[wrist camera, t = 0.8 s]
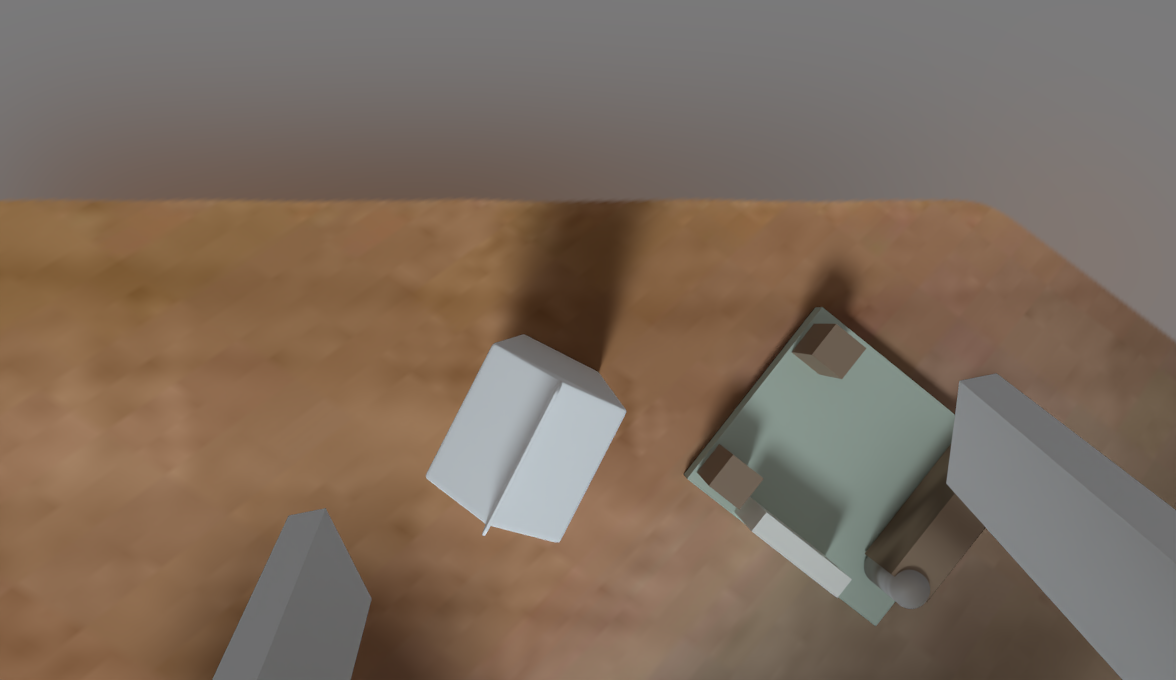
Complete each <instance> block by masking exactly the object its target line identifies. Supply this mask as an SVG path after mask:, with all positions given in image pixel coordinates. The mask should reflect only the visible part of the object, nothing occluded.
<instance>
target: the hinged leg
mask: <svg viewBox="0 0 1176 680" xmlns="http://www.w3.org/2000/svg"><path fill="white" fill-rule="evenodd" d="M950 450H951V444H950V446H949V447H948V448H947V449H946V451H945V452H944V453H943V454H942V456H941V457H940V458H939V460H938V461H937V462H936V463H935V465H934V466H933V467H932V468H931V470H930V471H929V472H928V474H927V475H926V476H925V477H924V479H923V480H922V481H921V482H920V484H919V485H918V486H917V488H916V489H915V490H914V491H913V493H912V494H911V495H910V496H909V498H908V499H907V500H906V502H905V503H904V504H903V505H902V507H901V508H900V509H899V510H898V512H897V513H896V514H895V516H894V517H893V518H892V519H891V521H890V522H889V523H888V524H887V526H886V527H885V528H884V530H883V531H882V532H881V533H880V535H879V536H878V537H877V538H876V540H875V541H874V542H873V544H872V545H871V546H870V547H869V549H868V550H867V551H866V552H865V554H866V555H867V556H868V557H867V558H866V560H865V563H864V571H865V574H866V576H867V577H868V579H869V580H871V581H872V582H873V583H874V584H875V585H877V586H878V587H879V588H880V589H881V590H883V591H884V592H885V593H886V594H887V595H888V596H890V597H891V598H892V599H893V600H894V601H896V602H897V603H898V604H899V605H901V606H902V607H904V608H907V609H915V608H918V607H920V606H922V605H923V604H924V603H925V602H927V601H928V600H929V599H930V598H931V596H932V595H933V594H934V592H935V591H936V590H937V589H938V587H939V586H940V585H941V584H942V582H943V581H944V580H945V578H946V577H947V576H948V575H949V573H950V572H951V571H952V570H953V568H954V567H955V566H956V564H957V563H958V562H959V561H960V559H961V558H962V557H963V556H964V554H965V553H966V552H967V550H968V549H969V548H970V547H971V545H972V544H973V543H974V542H975V540H976V539H977V538H978V536H979V535H980V534H981V533H982V531H983V530H984V529H985V528H986V527H985V526H984V525H983V524H982V523H981V522H980V521H979V519H978V518H977V517H976V516H975V515H974V514H973V513H972V512H971V511H970V509H969V508H968V507H967V506H966V505H965V504H964V503H963V502H962V501H961V499H960V498H959V497H958V496H957V495H956V494H955V493H954V492H953V490H952V489H951V488H950V487H949V486H948V485H947V484H946V481H947V473H948V465H949V458H950Z"/></svg>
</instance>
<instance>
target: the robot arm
mask: <svg viewBox="0 0 1176 680" xmlns="http://www.w3.org/2000/svg"><path fill="white" fill-rule="evenodd" d="M946 484H947V485H948V486H949V487H950V488H951V489H952V490H953V492H954V493H955V494H956V495H957V496H958V497H959V498H960V499H961V501H962V502H963V503H964V504H965V505H966V506H967V507H968V508H969V509H970V511H971V512H972V513H973V514H974V515H975V516H976V517H977V518H978V519H979V521H980V522H981V523H982V524H983V525H984V526H985V527H986V528H987V529H988V531H989V532H990V533H991V534H992V535H993V536H994V537H995V538H996V539H997V541H998V542H999V543H1000V544H1001V545H1002V546H1003V547H1004V548H1005V549H1006V551H1007V552H1008V553H1009V554H1010V555H1011V556H1012V557H1013V558H1014V560H1015V561H1016V562H1017V563H1018V564H1019V565H1020V566H1021V567H1022V568H1023V570H1024V571H1025V572H1026V573H1027V574H1028V575H1029V576H1030V577H1031V578H1032V580H1033V581H1034V582H1035V583H1036V584H1037V585H1038V586H1039V587H1040V588H1041V590H1042V591H1043V592H1044V593H1045V594H1046V595H1047V596H1048V597H1049V598H1050V600H1051V601H1052V602H1053V603H1054V604H1055V605H1056V606H1057V607H1058V609H1059V610H1060V611H1061V612H1062V613H1063V614H1064V615H1065V616H1066V617H1067V619H1068V620H1069V621H1070V622H1071V623H1072V624H1073V625H1074V626H1075V627H1076V629H1077V630H1078V631H1079V632H1080V633H1081V634H1082V635H1083V636H1084V637H1085V639H1086V640H1087V641H1088V642H1089V643H1090V644H1091V645H1092V646H1093V647H1094V649H1095V650H1096V651H1097V652H1098V653H1099V654H1100V655H1101V656H1102V658H1103V659H1104V660H1105V661H1106V662H1107V663H1108V664H1109V665H1110V666H1111V668H1112V669H1113V670H1114V671H1115V672H1116V673H1117V674H1118V675H1119V676H1120V678H1121V679H1122V680H1176V510H1175V509H1174V508H1172V507H1171V506H1170V505H1168V504H1167V503H1166V502H1164V501H1163V500H1162V499H1161V498H1159V497H1158V496H1157V495H1155V494H1154V493H1153V492H1151V491H1150V490H1149V489H1147V488H1146V487H1145V486H1143V485H1142V484H1141V483H1140V482H1138V481H1137V480H1136V479H1134V478H1133V477H1132V476H1130V475H1129V474H1128V473H1126V472H1125V471H1124V470H1123V469H1121V468H1120V467H1119V466H1117V465H1116V464H1115V463H1113V462H1112V461H1111V460H1109V459H1108V458H1107V457H1105V456H1104V455H1103V454H1102V453H1100V452H1099V451H1098V450H1096V449H1095V448H1094V447H1092V446H1091V445H1090V444H1088V443H1087V442H1086V441H1084V440H1083V439H1082V438H1081V437H1079V436H1078V435H1077V434H1075V433H1074V432H1073V431H1071V430H1070V429H1069V428H1067V427H1066V426H1065V425H1064V424H1062V423H1061V422H1060V421H1058V420H1057V419H1056V418H1054V417H1053V416H1052V415H1050V414H1049V413H1048V412H1046V411H1045V410H1044V409H1043V408H1041V407H1040V406H1039V405H1037V404H1036V403H1035V402H1033V401H1032V400H1031V399H1029V398H1028V397H1027V396H1025V395H1024V394H1023V393H1022V392H1020V391H1019V390H1018V389H1016V388H1015V387H1014V386H1012V385H1011V384H1010V383H1008V382H1007V381H1006V380H1004V379H1003V378H1002V377H1001V376H999V375H998V374H997V373H996V374H991V375H986V376H981V377H976V378H971V379H966V380H961V381H959V388H958V396H957V404H956V411H955V419H954V427H953V435H952V442H951V450H950V458H949V465H948V473H947V481H946ZM371 599H372V598H371V596H370V594H369V592H368V591H367V589H366V587H365V585H364V583H363V581H362V579H361V577H360V575H359V573H358V571H357V569H356V567H355V565H354V563H353V561H352V559H351V557H350V555H349V553H348V551H347V549H346V547H345V545H344V543H343V541H342V539H341V538H340V536H339V534H338V532H337V530H336V528H335V526H334V524H333V522H332V520H331V518H330V516H329V514H328V512H327V510H326V508H325V509H320V510H315V511H310V512H305V513H300V514H295V515H290V516H288V518H287V520H286V523H285V525H284V527H283V529H282V531H281V533H280V535H279V538H278V540H277V542H276V544H275V546H274V548H273V550H272V553H271V555H270V557H269V559H268V561H267V563H266V565H265V568H264V570H263V572H262V574H261V576H260V578H259V580H258V583H257V585H256V587H255V589H254V591H253V593H252V595H251V598H250V600H249V602H248V604H247V606H246V608H245V610H244V613H243V615H242V617H241V619H240V621H239V623H238V625H237V628H236V630H235V632H234V634H233V636H232V638H231V640H230V643H229V645H228V647H227V649H226V651H225V653H224V655H223V658H222V660H221V662H220V664H219V666H218V668H217V670H216V673H215V675H214V677H213V679H212V680H351V677H352V673H353V669H354V665H355V661H356V657H357V653H358V650H359V646H360V642H361V638H362V634H363V630H364V626H365V623H366V619H367V615H368V611H369V607H370V603H371Z"/></svg>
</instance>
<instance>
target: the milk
mask: <svg viewBox="0 0 1176 680" xmlns="http://www.w3.org/2000/svg"><path fill="white" fill-rule="evenodd" d="M625 414H626V409H625V408H624V407H623V405H622V404H621V402H620V401H619V400H618V398H617V397H616V396H615V394H614V393H613V391H612V390H611V389H610V387H609V386H608V385H607V383H606V382H605V380H604V379H603V378H602V376H601V375H600V373H599V372H597V371H596V370H594V369H592V368H590V367H588V366H586V365H584V364H582V363H580V362H578V361H576V360H574V359H572V358H570V357H568V356H566V355H564V354H562V353H560V352H558V351H556V350H554V349H552V348H550V347H548V346H546V345H545V344H543V343H541V342H539V341H537V340H535V339H533V338H531V337H529V336H527V335H525V334H523V335H519V336H516V337H513V338H510V339H507V340H503V341H500V342H497V343H494V344H493V345H492V347H491V349H490V351H489V352H488V354H487V356H486V358H485V360H484V362H483V364H482V366H481V368H480V370H479V372H478V374H477V376H476V378H475V380H474V382H473V384H472V386H471V388H470V390H469V392H468V394H467V396H466V397H465V399H464V401H463V403H462V405H461V407H460V409H459V411H458V413H457V415H456V417H455V419H454V421H453V423H452V425H451V427H450V429H449V431H448V433H447V435H446V437H445V439H444V440H443V442H442V444H441V446H440V448H439V450H438V452H437V454H436V456H435V458H434V460H433V462H432V464H431V466H430V468H429V470H428V472H427V474H426V478H427V479H428V480H429V481H430V482H432V483H433V484H434V485H436V486H437V487H438V488H440V489H441V490H442V491H443V492H445V493H446V494H447V495H449V496H450V497H451V498H453V499H454V500H455V501H457V502H458V503H459V504H460V505H462V506H463V507H464V508H466V509H467V510H468V511H470V512H471V513H472V514H474V515H475V516H476V517H477V518H479V519H480V520H481V521H483V522H484V523H485V524H486V525H485V528H484V531H483V533H482V535H483V536H485V535H486V533H487V532H488V530H489V528H490V526H493V527H497V528H501V529H505V530H509V531H513V532H517V533H521V534H525V535H528V536H532V537H536V538H540V539H544V540H548V541H552V542H560V540H561V539H562V537H563V535H564V533H565V531H566V529H567V527H568V525H569V523H570V521H571V519H572V517H573V515H574V513H575V511H576V510H577V508H578V506H579V504H580V502H581V500H582V498H583V496H584V494H585V492H586V490H587V488H588V486H589V484H590V482H591V480H592V478H593V476H594V474H595V473H596V471H597V469H598V467H599V465H600V463H601V461H602V459H603V457H604V455H605V453H606V451H607V449H608V447H609V445H610V443H611V441H612V439H613V437H614V435H615V434H616V432H617V430H618V428H619V426H620V424H621V422H622V420H623V418H624V416H625Z"/></svg>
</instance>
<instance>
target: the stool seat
mask: <svg viewBox="0 0 1176 680" xmlns="http://www.w3.org/2000/svg"><path fill="white" fill-rule="evenodd" d="M954 419H955V414H953V413H952V412H951V411H950V410H949V409H947V408H946V407H945V406H944V405H942V404H941V403H940V402H939V401H937V400H936V399H935V398H934V397H933V396H931V395H930V394H929V393H928V392H926V391H925V390H924V389H923V388H921V387H920V386H919V385H918V384H917V383H915V382H914V381H913V380H912V379H910V378H909V377H908V376H907V375H905V374H904V373H903V372H902V371H900V370H899V369H898V368H897V367H896V366H894V365H893V364H892V363H891V362H889V361H888V360H887V359H886V358H884V357H883V356H882V355H881V354H880V353H878V352H877V351H876V350H875V349H873V348H872V347H871V346H870V345H868V344H867V343H866V342H865V341H864V340H862V339H861V338H860V337H859V336H857V335H856V334H855V333H854V332H852V331H851V330H850V329H849V328H848V327H846V326H845V325H844V324H843V323H841V322H840V321H839V320H838V319H836V318H835V317H834V316H833V315H832V314H830V313H829V312H828V311H827V310H825V309H824V308H823V307H815V308H814V310H813V311H812V312H811V313H810V315H809V316H808V317H807V319H806V320H805V321H804V322H803V324H802V325H801V326H800V327H799V329H798V330H797V331H796V333H795V334H794V335H793V336H792V338H791V339H790V340H789V341H788V343H787V344H786V345H785V346H784V348H783V349H782V350H781V352H780V353H779V354H778V355H777V357H776V358H775V359H774V360H773V362H772V363H771V364H770V366H769V367H768V368H767V369H766V371H765V372H764V373H763V374H762V376H761V377H760V378H759V380H758V381H757V382H756V383H755V385H754V386H753V387H752V388H751V390H750V391H749V392H748V393H747V395H746V396H745V397H744V399H743V400H742V401H741V402H740V404H739V405H738V406H737V407H736V409H735V410H734V411H733V413H732V414H731V415H730V416H729V418H728V419H727V420H726V421H725V423H724V424H723V425H722V427H721V428H720V429H719V430H718V432H717V433H716V434H715V435H714V437H713V438H712V439H711V440H710V442H709V443H708V444H707V446H706V447H705V448H704V449H703V451H702V452H701V453H700V454H699V456H698V457H697V458H696V460H695V461H694V462H693V463H692V465H691V466H690V467H689V468H688V470H687V471H686V472H685V474H684V475H685V477H686V478H687V479H688V480H689V481H691V482H692V483H693V484H695V485H696V486H697V487H698V488H700V489H701V490H702V491H703V492H705V493H706V494H707V495H709V496H710V497H711V498H712V499H714V500H715V501H716V502H718V503H719V504H720V505H721V506H723V507H724V508H725V509H726V510H728V511H729V512H730V513H732V514H733V515H734V516H735V517H737V518H738V519H739V520H741V521H742V522H743V523H744V524H746V526H747V527H748V528H749V529H750V530H751V531H752V532H753V533H755V534H756V535H757V536H758V537H760V538H761V539H762V540H764V541H765V542H766V543H767V544H769V545H770V546H771V547H772V548H774V549H775V550H776V551H778V552H779V553H780V554H781V555H783V556H784V557H785V558H787V559H788V560H789V561H790V562H792V563H793V564H794V565H795V566H797V567H798V568H799V569H801V570H802V571H803V572H804V573H806V574H807V575H808V576H810V577H811V578H812V579H813V580H815V581H816V582H817V583H818V584H820V585H821V586H822V587H824V588H825V589H826V590H827V591H829V592H830V593H831V594H833V595H834V596H835V597H836V598H838V597H839V598H840V599H841V600H843V601H844V602H845V603H847V604H848V605H849V606H850V607H852V608H853V609H854V610H856V611H857V612H858V613H859V614H861V615H862V616H863V617H864V618H866V619H867V620H868V621H870V622H871V623H872V624H873V625H875V626H876V625H877V624H878V623H879V622H880V620H881V619H882V618H883V616H884V615H885V614H886V613H887V611H888V610H889V609H890V608H891V606H892V605H893V604H894V602H895V601H894V600H893V599H892V598H891V597H890V596H888V595H887V594H886V593H885V592H884V591H883V590H881V589H880V588H879V587H878V586H877V585H875V584H874V583H873V582H872V581H871V580H869V579H868V577H867V576H866V574H865V571H864V563H865V560H866V558H867V557H868V556H867V555H866V554H865V552H866V551H867V550H868V549H869V547H870V546H871V545H872V544H873V542H874V541H875V540H876V538H877V537H878V536H879V535H880V533H881V532H882V531H883V530H884V528H885V527H886V526H887V524H888V523H889V522H890V521H891V519H892V518H893V517H894V516H895V514H896V513H897V512H898V510H899V509H900V508H901V507H902V505H903V504H904V503H905V502H906V500H907V499H908V498H909V496H910V495H911V494H912V493H913V491H914V490H915V489H916V488H917V486H918V485H919V484H920V482H921V481H922V480H923V479H924V477H925V476H926V475H927V474H928V472H929V471H930V470H931V468H932V467H933V466H934V465H935V463H936V462H937V461H938V460H939V458H940V457H941V456H942V454H943V453H944V452H945V451H946V449H947V448H948V447H949V446H950V444H951V442H952V435H953V427H954Z"/></svg>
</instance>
